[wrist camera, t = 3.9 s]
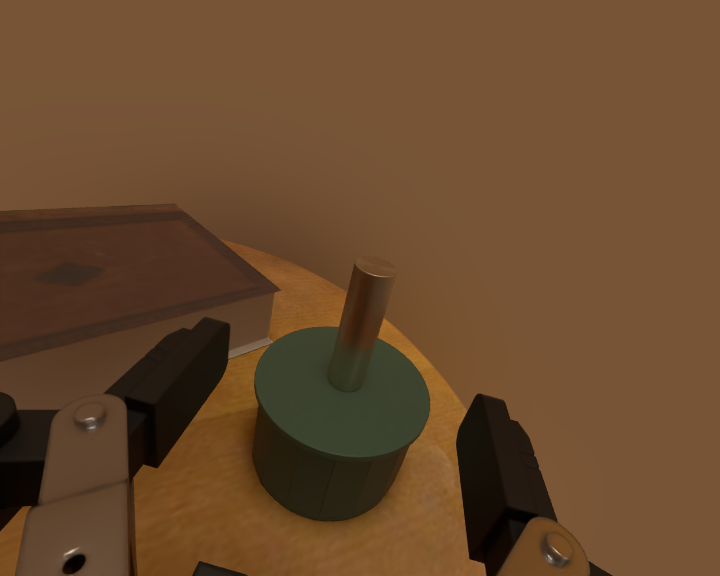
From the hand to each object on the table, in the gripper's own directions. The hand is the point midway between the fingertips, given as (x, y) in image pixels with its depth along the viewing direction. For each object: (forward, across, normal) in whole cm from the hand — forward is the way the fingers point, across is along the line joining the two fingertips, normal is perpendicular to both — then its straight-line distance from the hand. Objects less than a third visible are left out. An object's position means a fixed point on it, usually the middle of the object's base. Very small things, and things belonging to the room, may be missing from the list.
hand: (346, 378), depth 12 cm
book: (+18, +26, +18) cm, 36 cm away
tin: (+11, 0, +17) cm, 20 cm away
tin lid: (+11, 0, +10) cm, 15 cm away
